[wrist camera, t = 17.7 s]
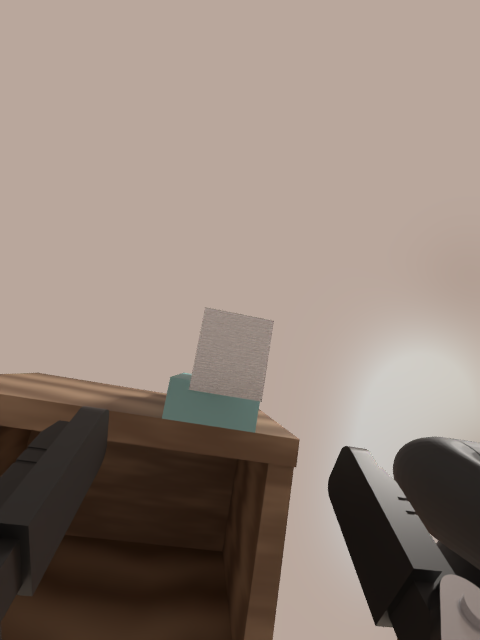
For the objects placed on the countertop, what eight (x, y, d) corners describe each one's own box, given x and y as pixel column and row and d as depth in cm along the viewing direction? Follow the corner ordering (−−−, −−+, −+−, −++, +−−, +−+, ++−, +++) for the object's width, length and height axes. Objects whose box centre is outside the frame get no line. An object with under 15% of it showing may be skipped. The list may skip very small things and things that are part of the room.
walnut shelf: (-59, 689, 28) (37, 372, 34) (213, 703, 31) (258, 408, 37) (-393, 1102, 12) (-104, 378, 18) (224, 1052, 15) (299, 439, 21)
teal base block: (178, 396, 35) (183, 372, 35) (233, 405, 35) (237, 381, 36) (161, 418, 20) (170, 376, 21) (255, 432, 21) (261, 392, 21)
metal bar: (196, 375, 32) (203, 342, 33) (225, 380, 33) (231, 347, 33) (188, 389, 13) (205, 307, 14) (261, 401, 13) (273, 320, 14)
